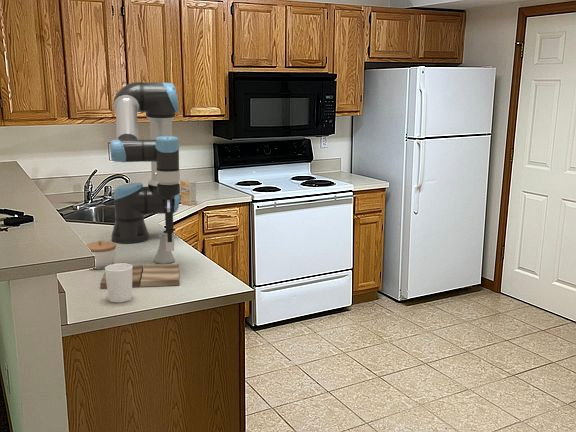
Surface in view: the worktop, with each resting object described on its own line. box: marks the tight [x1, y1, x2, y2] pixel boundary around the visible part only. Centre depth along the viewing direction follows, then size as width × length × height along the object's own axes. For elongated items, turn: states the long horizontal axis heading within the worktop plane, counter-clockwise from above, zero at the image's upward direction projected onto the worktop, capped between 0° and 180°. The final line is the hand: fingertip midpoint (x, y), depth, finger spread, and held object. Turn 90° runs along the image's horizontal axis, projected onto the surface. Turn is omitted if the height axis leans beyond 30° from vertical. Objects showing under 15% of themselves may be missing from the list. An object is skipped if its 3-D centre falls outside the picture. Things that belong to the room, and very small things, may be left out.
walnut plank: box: [99, 264, 144, 290], centre depth 194 cm, size 18×12×2 cm, turn 10°
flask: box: [153, 233, 176, 264], centre depth 213 cm, size 7×7×10 cm
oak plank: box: [140, 263, 180, 287], centre depth 196 cm, size 18×12×2 cm, turn 10°
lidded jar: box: [85, 240, 117, 270], centre depth 207 cm, size 11×11×9 cm
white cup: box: [104, 262, 133, 303], centre depth 175 cm, size 8×8×10 cm
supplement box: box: [179, 179, 197, 207], centre depth 321 cm, size 8×5×13 cm, turn 50°
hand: (170, 250), depth 201 cm, fingers closed
